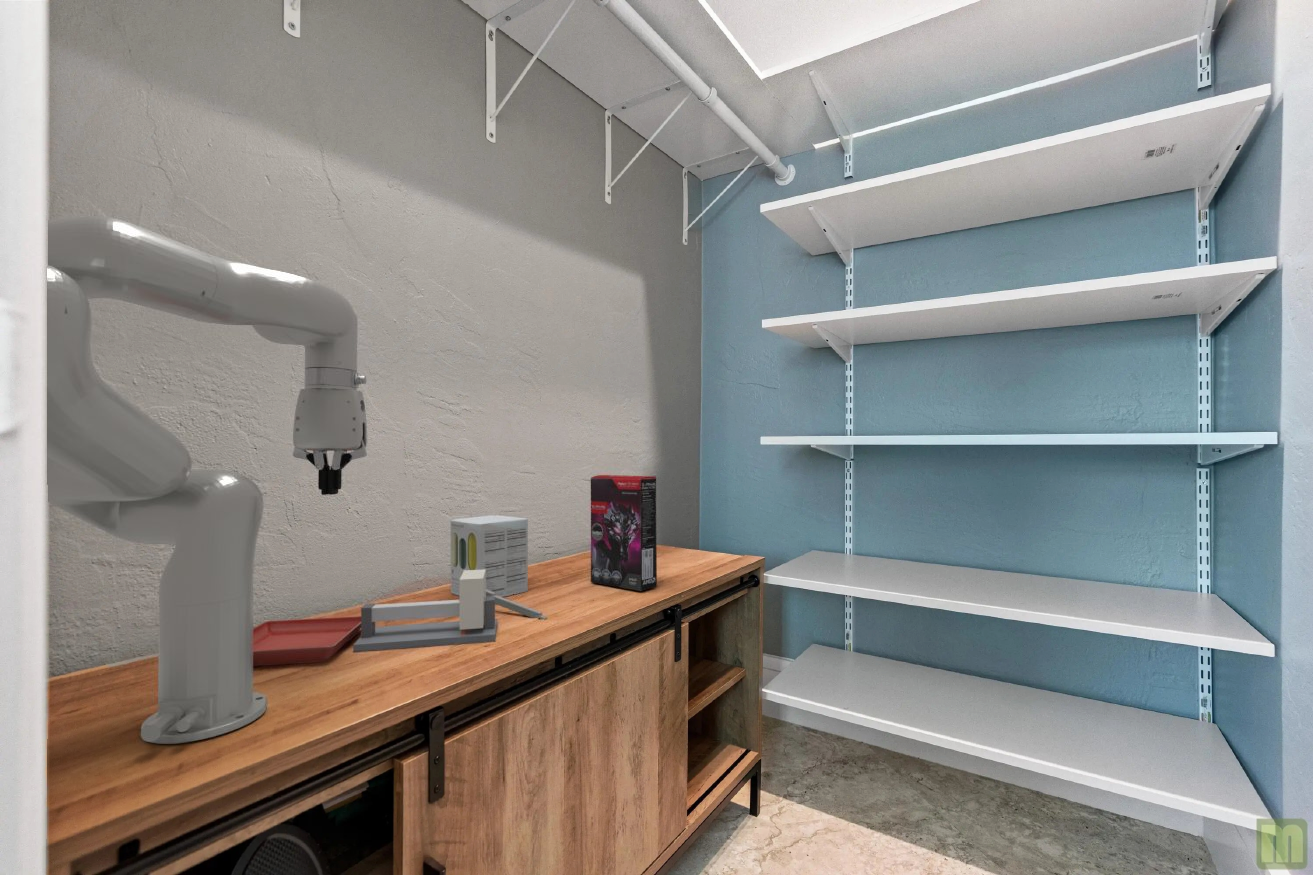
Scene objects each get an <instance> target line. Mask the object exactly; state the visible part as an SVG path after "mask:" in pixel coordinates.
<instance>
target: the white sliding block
mask: <svg viewBox="0 0 1313 875" xmlns="http://www.w3.org/2000/svg"><path fill="white" fill-rule="evenodd" d="M484 598H486V569H483V570H464V571H463V573H462V576H461V578H460V596H459V600H460V616H459V621H460V630H462V629H476V628H483V626H484V622H485V615H484Z"/></svg>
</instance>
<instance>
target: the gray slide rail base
mask: <svg viewBox="0 0 1313 875" xmlns="http://www.w3.org/2000/svg"><path fill="white" fill-rule="evenodd" d="M360 612H361V613H360V616H361V629H360V636H359V638H358V639H357V640H356V642H354V643H353V653H357V652H358V653H359V652H370V651H386V650H397V649H398V650H399V649H411V648H423V647H425V648H426V647H437V646H451V645H463V644H476V643H477V644H478V643H490V642H491V641H493V642H496V637H497V630H498V618H496V604H495V596H488V597H486V598H484V615H485V622H484V626H483V628H476V629H462V630H460V620H455V621H454V620H453V621H441V622H440V621H439V622H427V623H413V624H398V625H397V624H396V625H383V626H382V625H380V626H376V623H377V622H390V621H392V622H394V621H406V620H407V621H408V620H420V619H421V620H422V619H423V620H424V619H437V618H453V617H460V599H450V600H447V599H446V600H433V601H417V602H415V601H413V602H399V603H398V602H397V603H383V604H376V603H373V602H372V603H371V602H370V603H365V604H364V605H362V607H361V609H360ZM491 643H492V642H491Z"/></svg>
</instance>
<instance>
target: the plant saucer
mask: <svg viewBox="0 0 1313 875" xmlns="http://www.w3.org/2000/svg"><path fill="white" fill-rule="evenodd" d="M359 631H361V615H359V616H340V617H338V616H337V617H319V618H302V619H301V618H300V619H281V620H268V621H264V622H261V623H260V624H257V626H255V627H254V626H253V667H256V666H257V667H259V665H260V666H273V665H274V666H276V665H287V664H289V665H291V664H307V663H322V662H323V663H324V662H325V661H328V660H329V659H330V658H331V657H332V656H334V654H336V653H337V652H338V651H339V650H340V649H341V648H342V647H343V646H345V645H346V644H347V643H348V642H349V641H350V640H352V639H353V638H354V637H355V636H356V635H357V634H358V632H359Z"/></svg>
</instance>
